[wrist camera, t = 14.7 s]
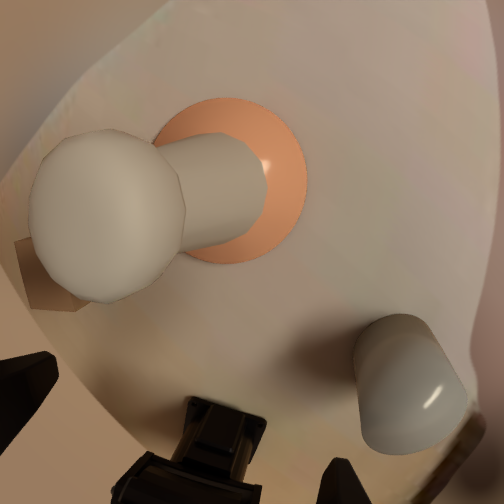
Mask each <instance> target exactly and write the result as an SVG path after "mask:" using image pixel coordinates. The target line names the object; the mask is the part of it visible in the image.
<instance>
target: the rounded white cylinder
mask: <svg viewBox="0 0 504 504" xmlns="http://www.w3.org/2000/svg"><path fill="white" fill-rule="evenodd" d="M353 366H354V373H355V380H356V388H357V395H358V404H359V412H360V421H361V431H362V436H363V439H364V441H365V442H366V444H367V445H368V446H369V447H370V448H372V449H373V450H375V451H377V452H379V453H383V454H387V455H406V454H412V453H416V452H419V451H422V450H425V449H427V448H429V447H431V446H433V445H435V444H437V443H438V442H440V441H441V440H443V439H444V438H445V437H447V436H448V435H449V434H450V433H451V432H452V431H453V430H454V429H455V428H456V427H457V425H458V424H459V423H460V421H461V420H462V418H463V416H464V414H465V411H466V408H467V401H468V398H467V393H466V390H465V388H464V386H463V384H462V382H461V381H460V379H459V377H458V375H457V373H456V372H455V370H454V368H453V366H452V365H451V363H450V361H449V359H448V358H447V356H446V354H445V353H444V351H443V349H442V348H441V346H440V344H439V343H438V341H437V339H436V338H435V336H434V334H433V333H432V331H431V330H430V328H429V327H428V325H427V324H426V323H425V322H424V321H423V320H421V319H420V318H418V317H416V316H413V315H409V314H394V315H389V316H386V317H383V318H381V319H379V320H377V321H376V322H374V323H372V324H371V325H370V326H369V327H367V328H366V329H365V330H364V331H363V333H362V334H361V335H360V337H359V338H358V340H357V342H356V344H355V347H354V350H353Z"/></svg>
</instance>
